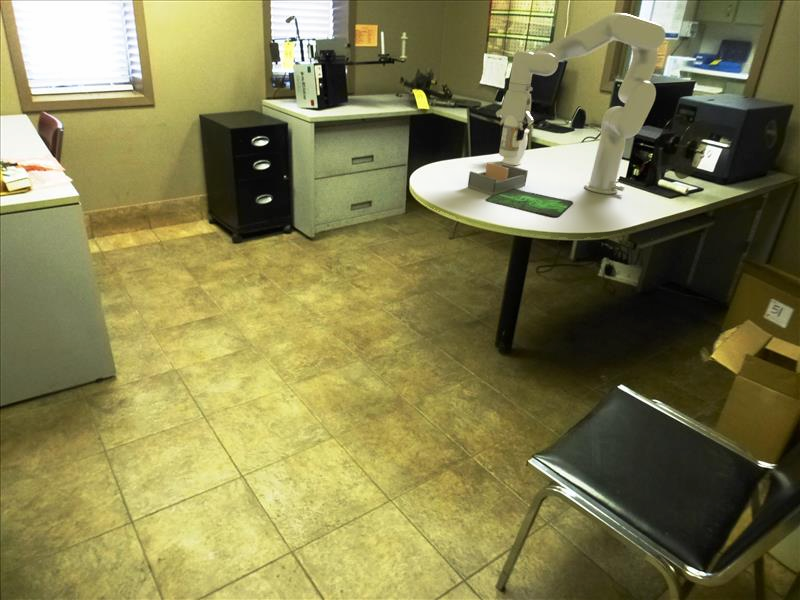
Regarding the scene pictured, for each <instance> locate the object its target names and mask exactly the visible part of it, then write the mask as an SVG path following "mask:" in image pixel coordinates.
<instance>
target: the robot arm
mask: <svg viewBox="0 0 800 600" xmlns="http://www.w3.org/2000/svg"><path fill="white" fill-rule="evenodd" d="M665 40H666V30H665V29H664V27H663V26H662V25H660V24H658V23H656V22H653V21H650V20H647V19H644V18H640V17H637V16H634V15H631V14H629V13H625V12H623V13H622V12H612V13H610V14H607V15H605V16H604V17H602V18H600V19H598V20H596V21H594V22H592V23H591V24H589V25H587V26H585V27H583V28H582V29H580V30H578V31H576V32H574V33H571V34H568V35H567V36H564V37H562V38H559V39H557V40H555V41H553V42H551V43H549V44H547V45H544V47H541V48H539V49H537V50H535V52H533V51H530V50H529V51H527V50H517V51H515V53H514V54H513V58H512V65H511V66H512V67H511V71H510V78H509V84H508V89H507V90H506V93H505V95H504V98H503V102H502V106H501V108H500V109H498V110H497V111H496V112H495V115H496V117H497V120H498V122H499V125H500V127H499V137H502V132H503V125H504V121H505V119H506V118H507V117H508V116H509V115H512V116H513V117H514V118H515V119H516V121H517V122H518V123H519V127H520V129H519V130H518V134H517V141H520V140H523V137H524V132H525V129H528V128H529V127H530V126H531V125H532V124H533V123H534V122H535V120H534V118H533V117H532V115H531V112H532V111H531V110H532V93H530V92H532V91H533V87H532V85H531V83H532V77H533V75H537V76H543V77H548V76H551V75H553V74H554V73H555V72H556V71H557V69H558V67H559V63H560V62H563V61H565V60H568V59H572V58H581V57H584V56H588V55H589V54H591V53H593V52H595V51H597V50H599V49H600V48H602V47H604V46H607V44H609V43H612V42H613V41H617V42H621V43H623V44H626V45H629V46H630V47H631V51H632V59H631V62H630V65H629V67H628V70H627V72H626V73H625V76H624V79H623V81H622V83H621V85H620V87H619V90H618V91H617V92H618V93H617V96H618V98H619V100H620V102H622V103H623V104H624V106H620V105H618V106H612V107H610V108H608V109H607V110H606V111H605V113H604V114H603V117H602V120H601V129H600V135H599V142H598V146H597V149H596V155H595V159H594V162H593V167H592V172H591V175H590V180H589V181H588V182H585V184H584V188H585V189H586V190H588V191H590V192H594V193H598V194H604V195H605V194H607V195H614V194H617V193H618V191H620V192H624V190H625V185H623V184H620V183H619V180H618V179H617V177H618V174H619V171H620V167H621V162H622V158H623V154H624V152H625V146H626V139H630V138H633V137H635V136H636V135H637V134H638V133H639V132H640V130H641V129H642V127H643V125H644V124H645V121H646V119H647V117H648V115H649V113H650V111H651V109H652V107H653V105H654V102H655V100H656V96H657V90H656V89H657V88H656V86H655V85H654V84H653V82H651V79H652V77H653V74H654V71H655V70H656V67H657V64H658V58H659V56H658V55H659V54H658V49H659V48H661V47H662V45H663V44H664V42H665Z"/></svg>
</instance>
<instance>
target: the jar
mask: <svg viewBox="0 0 800 600" xmlns="http://www.w3.org/2000/svg"><path fill="white" fill-rule="evenodd" d="M529 133H530V129H528V128H527V129H525V132H524V137H523V140H520V143H519V149H518V154H517V157H514V158H508V157H503V159H502V160H501V161H502V164H507V165H510V166H520V165H521V164H522V159H523V157H524V155H525V153H526V152H525V151H526V150H527V146H528V134H529Z"/></svg>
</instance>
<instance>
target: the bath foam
mask: <svg viewBox="0 0 800 600" xmlns="http://www.w3.org/2000/svg"><path fill="white" fill-rule="evenodd" d="M519 129H520V127H519V123H518V122H517V121H516V119H515V118H514V117H513V116H512V115H509V116H508V117H507V118H506V119H505V121H504V125H503V132H502V136H501V139H500V146H499V152H498V154H499V155H500V156H501V157H503V158H504V157H508V158H514V157H517V154H518V149H519V143H520V141H517V134H518V130H519Z"/></svg>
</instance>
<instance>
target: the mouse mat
mask: <svg viewBox="0 0 800 600" xmlns="http://www.w3.org/2000/svg"><path fill="white" fill-rule="evenodd" d="M484 201H485V202H487V203H490V204H494V205H499V206H504V207H508V208H512V209H516V210H519V211H525V212H528V213H532V214H538V215H542V216H547V217H551V218H558V217H560V216H561V215H563V213H564V212H565V211H567V210H568V209H569V208H570V207H571V206H572V205H573V204H574V202H573V201H572V200H570V199H564V198H558V197H555V196H554V197H553V196H548V195H545V194H544V195H543V194H539V193H534V192H530V191H525V190H522V189H518V188H516V189H511V190H508V191H505V192H502V193H499V194H496V195H490V196H487V198H485V199H484Z"/></svg>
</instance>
